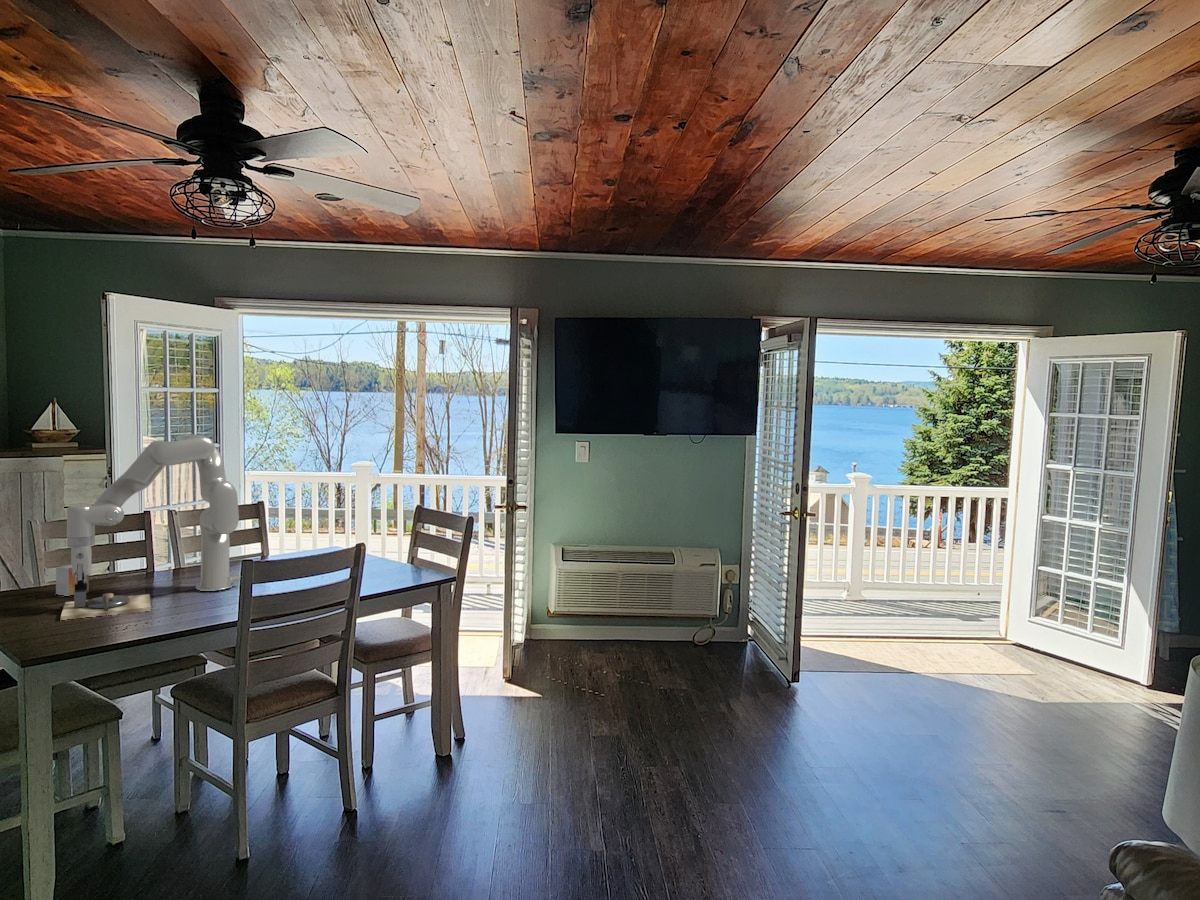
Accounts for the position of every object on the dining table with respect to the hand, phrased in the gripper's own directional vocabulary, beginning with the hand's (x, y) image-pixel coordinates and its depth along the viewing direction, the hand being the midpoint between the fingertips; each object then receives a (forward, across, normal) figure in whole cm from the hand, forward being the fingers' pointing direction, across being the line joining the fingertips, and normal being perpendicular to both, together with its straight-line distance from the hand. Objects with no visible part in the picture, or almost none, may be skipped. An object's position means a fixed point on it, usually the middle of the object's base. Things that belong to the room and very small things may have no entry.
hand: (80, 595), depth 231 cm
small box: (+5, +22, +4) cm, 23 cm away
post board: (+5, -4, -8) cm, 10 cm away
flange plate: (+3, -4, -6) cm, 8 cm away
